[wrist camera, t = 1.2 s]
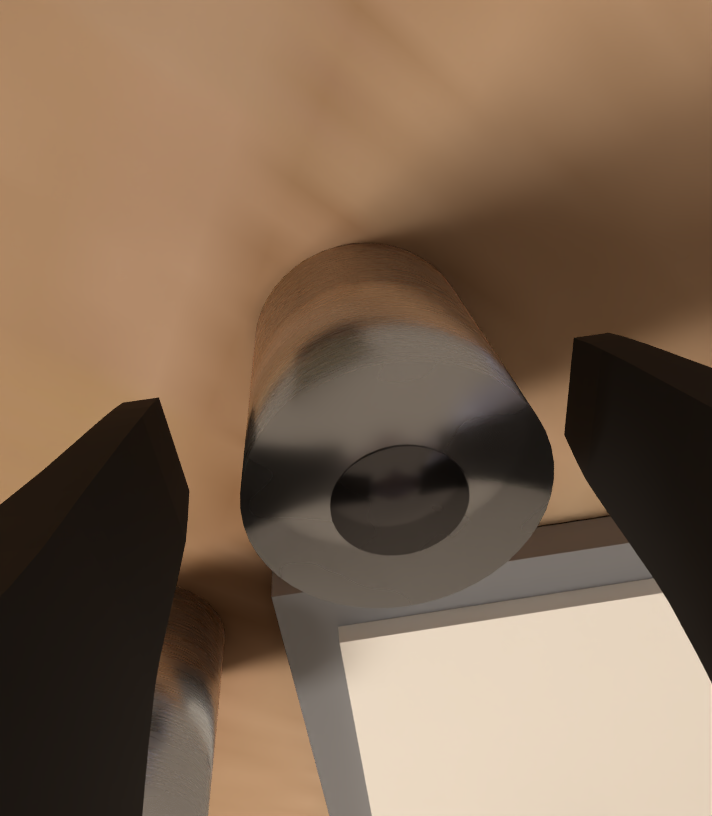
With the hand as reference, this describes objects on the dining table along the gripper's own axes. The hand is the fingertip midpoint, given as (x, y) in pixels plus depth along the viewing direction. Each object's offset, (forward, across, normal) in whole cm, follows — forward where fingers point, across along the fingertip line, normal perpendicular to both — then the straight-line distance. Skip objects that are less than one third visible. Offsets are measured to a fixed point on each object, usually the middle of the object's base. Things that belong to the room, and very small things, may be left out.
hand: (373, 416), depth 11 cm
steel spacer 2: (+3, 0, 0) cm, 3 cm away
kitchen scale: (+3, -6, +16) cm, 18 cm away
